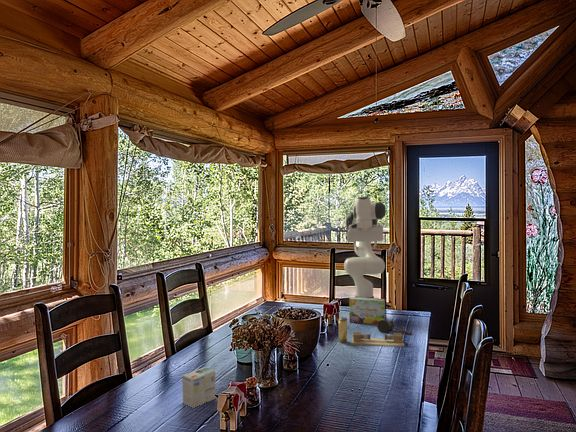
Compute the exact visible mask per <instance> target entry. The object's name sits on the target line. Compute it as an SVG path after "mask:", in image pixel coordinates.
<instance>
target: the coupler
mask: <svg viewBox="0 0 576 432" xmlns="http://www.w3.org/2000/svg"><path fill="white" fill-rule="evenodd" d="M338 343H340V344H346V343H348V317H345V316H344V317H338Z"/></svg>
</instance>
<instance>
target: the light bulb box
mask: <svg viewBox="0 0 576 432" xmlns="http://www.w3.org/2000/svg"><path fill="white" fill-rule="evenodd" d="M181 378H182V383H181V384H182V404H183V403H184V404H183V405H185V404H186V405H185V406H187V405H188V406H187V407H189V406H190V407H189V408H191V407H192V409H193V408H194V409H196V408H198V407H200V406H202V405H205V404H207V403H209V402H211V401H214V400H215V399H217V398H216V396H215V395H217V393H216V392H217V391H216V370H215V369H211V368H208V367H206V366H202V367H200V368H198V369H196V370H193V371H190V372H187V373H185V374H182V375H181ZM206 402H207V403H206ZM204 403H205V404H204ZM199 405H200V406H199ZM197 406H198V407H197ZM195 407H196V408H195Z"/></svg>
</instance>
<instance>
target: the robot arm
mask: <svg viewBox="0 0 576 432" xmlns="http://www.w3.org/2000/svg"><path fill="white" fill-rule="evenodd" d="M386 213H387V209H386V206H385V203H383V201H378V202H371V198H370V197H369V196H358V197H356V199H355V203H354V204H353V206H352V211H351V210H350V212H348V213H347V214H346V215H345V218H344V225H345V226H346V228H347V229H348V230H347V233H346V234H347V235H346V241H347V242H348V243H353V245H354V253H355V255H357V256H352V257H348V258H345V260H344V263H343V268H344V271H345V273H347V274H348V275H349V276H350V277H351V279H353V282H354V286H355V295H354V297H360V298H375V297H374V284H373V282H371V280H369V279H367V278H365V277H364V275H379V274H383V273H384V271H385V268H386V264H385V261H384V260H383V258H381V257H379V256H377V255H376V254H375V253H374V251H373V250H376V247H377V244H378V242H381V241H383V240H384V234H383V232H384V226H383V225H382V224H378V222H379V220H382V219H384V217H385V216H386ZM372 242H374V245H372Z"/></svg>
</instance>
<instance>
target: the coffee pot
mask: <svg viewBox="0 0 576 432" xmlns="http://www.w3.org/2000/svg"><path fill="white" fill-rule="evenodd" d="M376 325H377V329H378V331H379V332H380V333H381V334H387V333H388V332H389V331H392V330H396V331H400V333H401V332H402V333H403V334H406V335H408V336H410V335H413V332H411V331H410V330H407V329H406V330H405V329H401V328H398V327H395V323H394V322H393V321H392V320H391V321H390V320H389V321H388V320H386V319H385V320H380V321H379V322H378V324H376Z"/></svg>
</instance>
